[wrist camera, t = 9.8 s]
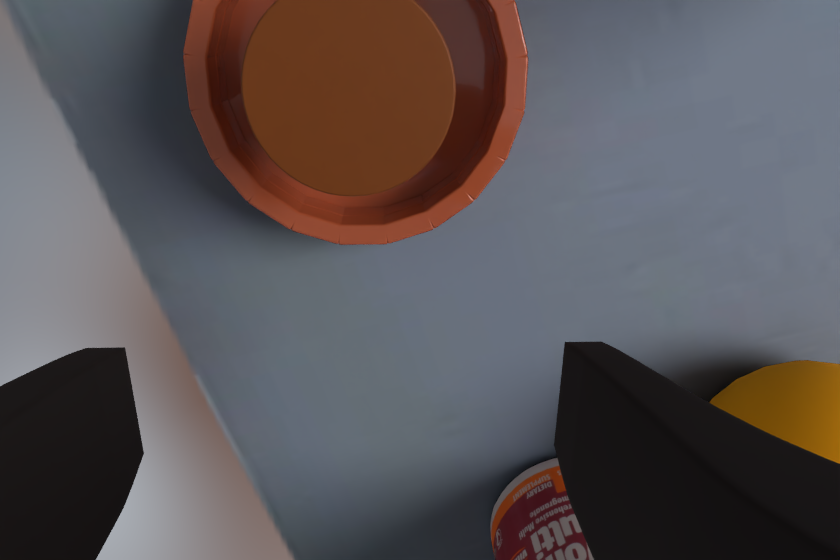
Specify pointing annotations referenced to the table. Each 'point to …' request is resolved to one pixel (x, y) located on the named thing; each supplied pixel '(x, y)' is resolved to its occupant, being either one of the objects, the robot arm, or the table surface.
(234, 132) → the terracotta bowl
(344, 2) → the brown cylinder
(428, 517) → the table surface
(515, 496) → the pill bottle
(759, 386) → the orange
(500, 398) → the table surface
